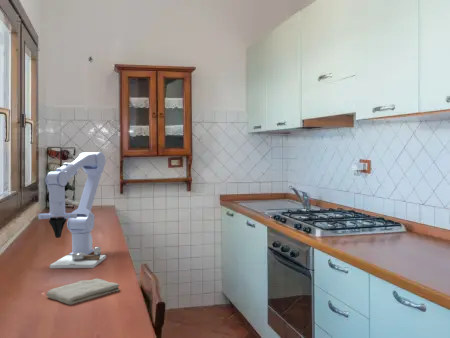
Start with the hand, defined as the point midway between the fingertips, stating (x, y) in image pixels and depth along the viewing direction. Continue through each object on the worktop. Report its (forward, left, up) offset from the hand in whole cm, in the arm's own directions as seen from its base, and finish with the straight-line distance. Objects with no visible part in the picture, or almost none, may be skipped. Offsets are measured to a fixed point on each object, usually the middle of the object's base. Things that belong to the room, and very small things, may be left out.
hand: (58, 237), depth 178 cm
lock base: (+3, +9, -9) cm, 13 cm away
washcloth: (+42, +25, -10) cm, 50 cm away
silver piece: (+3, +12, -8) cm, 14 cm away
